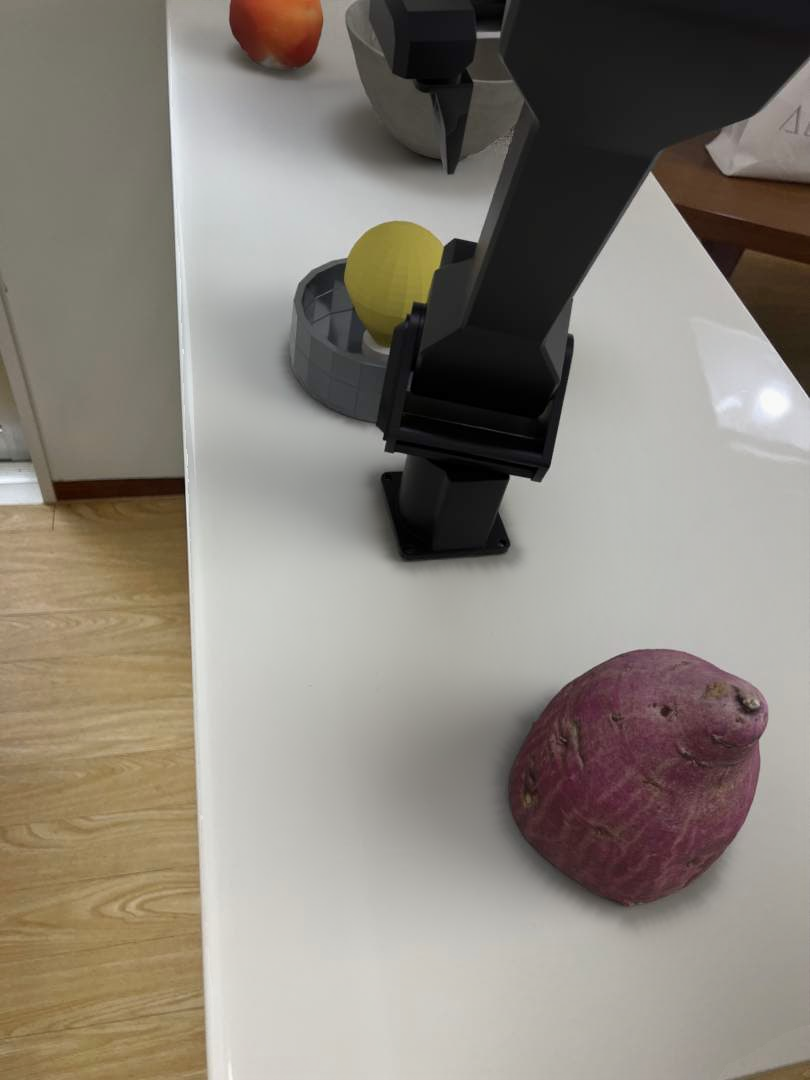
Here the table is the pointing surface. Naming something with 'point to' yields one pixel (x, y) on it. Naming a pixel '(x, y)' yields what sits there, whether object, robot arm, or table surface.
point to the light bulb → (389, 279)
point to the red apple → (277, 30)
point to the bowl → (412, 109)
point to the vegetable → (640, 773)
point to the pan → (333, 346)
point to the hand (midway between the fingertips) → (521, 165)
